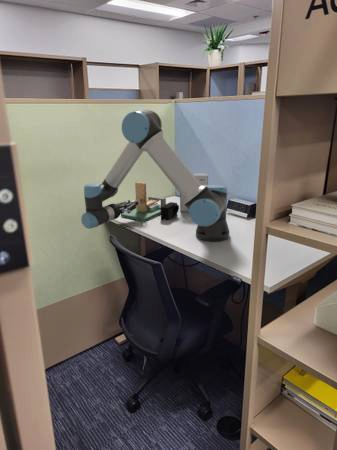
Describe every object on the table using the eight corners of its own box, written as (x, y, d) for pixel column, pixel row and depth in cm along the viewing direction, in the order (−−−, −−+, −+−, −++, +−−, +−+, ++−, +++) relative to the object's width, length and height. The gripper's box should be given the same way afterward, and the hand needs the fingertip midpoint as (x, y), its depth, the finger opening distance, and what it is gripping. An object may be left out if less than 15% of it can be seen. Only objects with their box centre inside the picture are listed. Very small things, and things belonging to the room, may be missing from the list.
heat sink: (151, 212, 188) (150, 206, 187) (139, 209, 192) (139, 204, 191) (159, 208, 194) (159, 203, 193) (147, 206, 198) (147, 201, 197)
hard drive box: (207, 208, 199) (208, 173, 192) (207, 212, 191) (208, 176, 185) (180, 207, 200) (180, 173, 194) (179, 211, 193) (179, 176, 186)
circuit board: (144, 221, 178) (144, 218, 177) (120, 216, 186) (120, 213, 186) (171, 209, 197) (171, 206, 197) (148, 205, 206) (148, 202, 205)
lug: (162, 207, 195) (162, 199, 194) (148, 205, 200) (148, 196, 199) (165, 206, 198) (165, 197, 196) (151, 203, 203) (151, 195, 201)
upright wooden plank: (145, 213, 185) (144, 183, 180) (136, 211, 188) (135, 182, 183) (160, 206, 197) (160, 178, 192) (152, 204, 200) (151, 177, 195)
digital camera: (170, 221, 178) (169, 208, 176) (160, 219, 180) (160, 206, 178) (179, 215, 186) (179, 203, 184) (170, 214, 189) (170, 201, 187)
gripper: (100, 218, 171) (130, 206, 190) (120, 222, 164) (149, 209, 183) (98, 203, 168) (129, 192, 187) (119, 207, 162) (149, 195, 180)
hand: (139, 201), depth 185 cm, fingers closed
